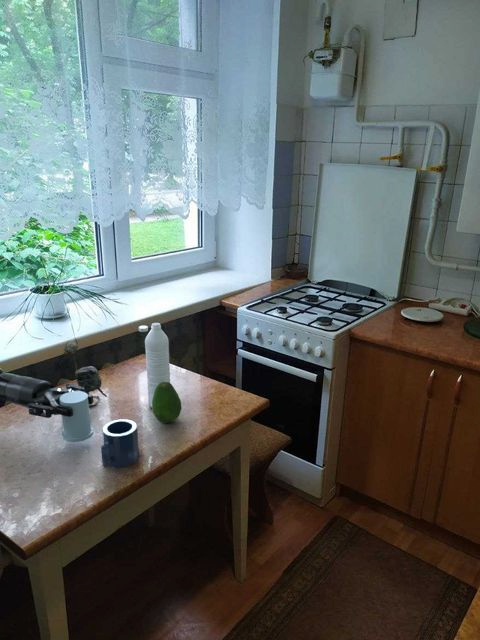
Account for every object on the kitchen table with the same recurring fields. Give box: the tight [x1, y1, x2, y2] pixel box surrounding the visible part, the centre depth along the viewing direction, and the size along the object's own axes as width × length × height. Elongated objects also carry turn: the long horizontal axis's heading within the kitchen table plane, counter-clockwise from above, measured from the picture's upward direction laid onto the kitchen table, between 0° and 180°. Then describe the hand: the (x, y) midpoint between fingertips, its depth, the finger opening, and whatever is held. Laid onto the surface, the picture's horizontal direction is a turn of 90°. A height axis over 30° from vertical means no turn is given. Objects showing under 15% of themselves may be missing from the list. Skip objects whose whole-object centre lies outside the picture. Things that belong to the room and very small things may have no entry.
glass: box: [60, 391, 95, 443], centre depth 122 cm, size 7×7×10 cm
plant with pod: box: [62, 340, 108, 407], centre depth 141 cm, size 8×11×20 cm
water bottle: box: [138, 322, 171, 408], centre depth 140 cm, size 9×6×25 cm
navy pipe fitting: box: [100, 418, 140, 469], centre depth 117 cm, size 11×8×8 cm
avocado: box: [151, 382, 182, 424], centre depth 134 cm, size 8×8×12 cm
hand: (82, 406), depth 120 cm, fingers closed on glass, 6 cm apart
